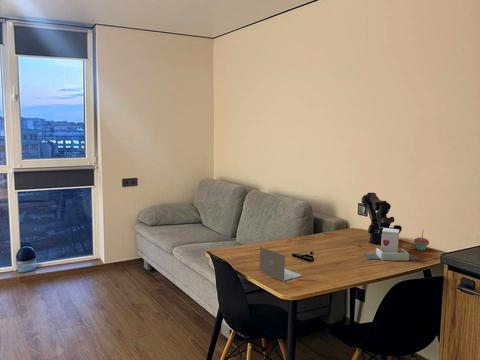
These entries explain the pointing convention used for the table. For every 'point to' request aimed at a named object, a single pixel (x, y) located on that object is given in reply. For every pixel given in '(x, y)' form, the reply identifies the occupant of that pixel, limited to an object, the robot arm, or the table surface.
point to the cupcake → (421, 243)
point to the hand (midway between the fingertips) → (387, 241)
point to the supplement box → (390, 240)
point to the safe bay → (392, 256)
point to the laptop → (275, 265)
